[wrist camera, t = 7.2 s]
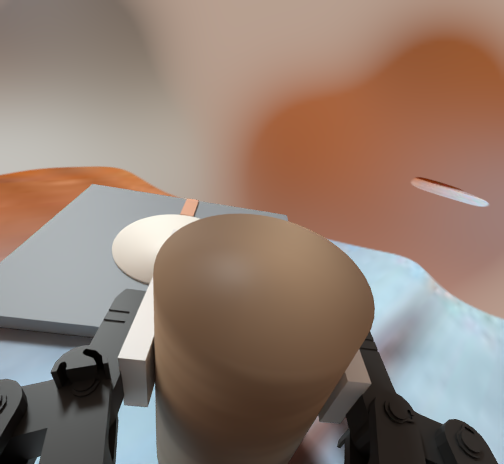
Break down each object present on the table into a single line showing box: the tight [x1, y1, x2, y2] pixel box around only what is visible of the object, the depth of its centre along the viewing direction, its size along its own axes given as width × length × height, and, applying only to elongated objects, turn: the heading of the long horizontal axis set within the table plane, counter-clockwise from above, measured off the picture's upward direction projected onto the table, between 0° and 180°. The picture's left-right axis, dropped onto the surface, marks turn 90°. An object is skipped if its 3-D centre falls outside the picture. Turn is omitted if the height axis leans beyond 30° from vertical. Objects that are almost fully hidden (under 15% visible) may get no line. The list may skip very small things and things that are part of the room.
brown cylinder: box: [153, 214, 375, 464], centre depth 10 cm, size 6×6×10 cm
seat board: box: [0, 184, 288, 337], centre depth 22 cm, size 20×16×1 cm
